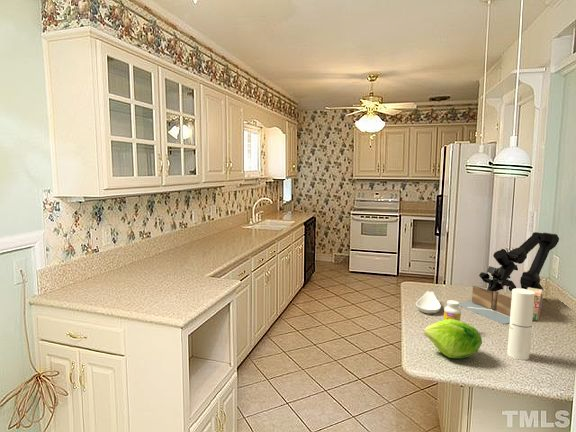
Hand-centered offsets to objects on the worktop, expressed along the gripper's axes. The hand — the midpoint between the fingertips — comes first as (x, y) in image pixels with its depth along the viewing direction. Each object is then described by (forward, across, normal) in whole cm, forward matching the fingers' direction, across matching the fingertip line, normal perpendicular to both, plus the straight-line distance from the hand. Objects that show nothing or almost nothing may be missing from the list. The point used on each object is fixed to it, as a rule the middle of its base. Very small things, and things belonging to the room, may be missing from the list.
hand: (487, 293), depth 197 cm
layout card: (+7, +5, +3) cm, 9 cm away
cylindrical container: (+28, +44, -18) cm, 55 cm away
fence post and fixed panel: (+5, +11, +5) cm, 13 cm away
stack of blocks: (-5, +14, +16) cm, 22 cm away
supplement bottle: (+33, +17, -22) cm, 43 cm away
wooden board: (+5, -2, +4) cm, 7 cm away
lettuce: (+44, +35, -34) cm, 66 cm away
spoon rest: (+26, -9, -15) cm, 31 cm away
